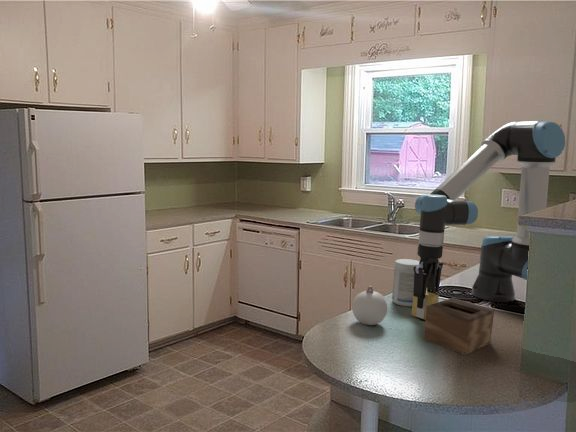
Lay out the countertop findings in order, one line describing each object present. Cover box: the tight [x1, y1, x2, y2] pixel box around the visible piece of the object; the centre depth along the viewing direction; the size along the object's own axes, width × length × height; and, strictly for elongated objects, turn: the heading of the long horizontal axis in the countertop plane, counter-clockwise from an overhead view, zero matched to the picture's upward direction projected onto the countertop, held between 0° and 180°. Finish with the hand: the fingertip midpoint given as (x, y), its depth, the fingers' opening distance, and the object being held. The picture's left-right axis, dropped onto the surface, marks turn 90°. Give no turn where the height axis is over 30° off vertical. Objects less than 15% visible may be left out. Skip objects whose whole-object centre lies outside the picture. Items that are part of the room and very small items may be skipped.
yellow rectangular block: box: [411, 290, 440, 321], centre depth 170 cm, size 4×7×8 cm, turn 43°
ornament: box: [352, 285, 388, 326], centre depth 162 cm, size 10×10×12 cm
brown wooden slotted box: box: [423, 297, 495, 356], centre depth 152 cm, size 14×13×10 cm
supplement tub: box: [391, 258, 420, 308], centre depth 185 cm, size 10×10×15 cm
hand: (424, 316), depth 171 cm, fingers closed on yellow rectangular block, 3 cm apart
